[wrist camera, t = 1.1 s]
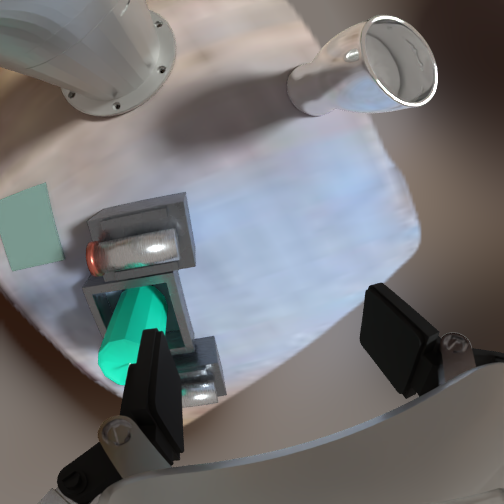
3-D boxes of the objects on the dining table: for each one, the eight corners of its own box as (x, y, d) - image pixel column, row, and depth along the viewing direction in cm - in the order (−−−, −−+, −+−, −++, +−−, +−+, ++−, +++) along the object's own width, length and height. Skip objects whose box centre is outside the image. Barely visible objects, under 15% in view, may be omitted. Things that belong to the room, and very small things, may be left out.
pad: (-6, 202, 23) (-8, 203, 22) (45, 182, 24) (44, 183, 23) (13, 270, 26) (12, 271, 26) (65, 258, 27) (63, 260, 27)
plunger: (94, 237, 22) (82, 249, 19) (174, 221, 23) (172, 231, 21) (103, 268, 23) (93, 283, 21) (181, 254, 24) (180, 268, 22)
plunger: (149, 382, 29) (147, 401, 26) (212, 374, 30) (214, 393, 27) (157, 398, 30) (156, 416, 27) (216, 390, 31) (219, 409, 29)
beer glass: (291, 125, 27) (375, 114, 13) (274, 64, 24) (343, 7, 11) (347, 115, 28) (448, 109, 14) (333, 58, 25) (423, 19, 11)
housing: (75, 215, 26) (53, 231, 21) (185, 192, 28) (183, 202, 23) (136, 379, 35) (132, 409, 30) (222, 368, 37) (227, 398, 32)
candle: (112, 311, 31) (86, 382, 20) (131, 273, 30) (105, 340, 19) (154, 333, 33) (145, 408, 22) (177, 299, 32) (173, 372, 21)
